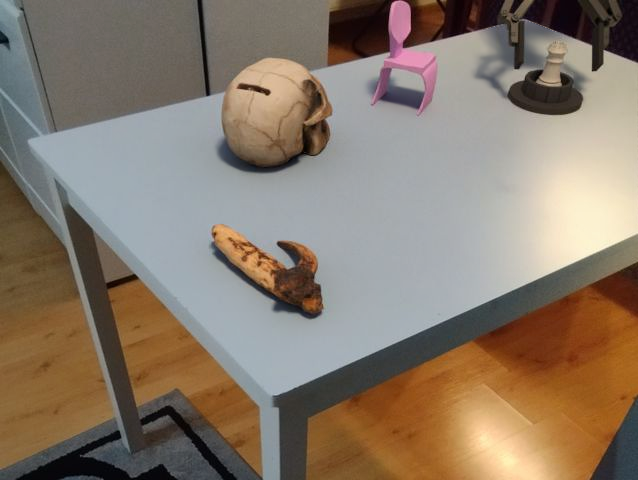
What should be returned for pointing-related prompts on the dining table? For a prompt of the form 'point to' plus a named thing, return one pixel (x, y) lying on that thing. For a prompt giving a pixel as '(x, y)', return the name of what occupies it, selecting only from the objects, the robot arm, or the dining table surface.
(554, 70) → the rook chess piece
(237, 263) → the lashed bone hook
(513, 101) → the socket pad
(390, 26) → the toy chair
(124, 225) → the dining table surface
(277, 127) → the coin bank
